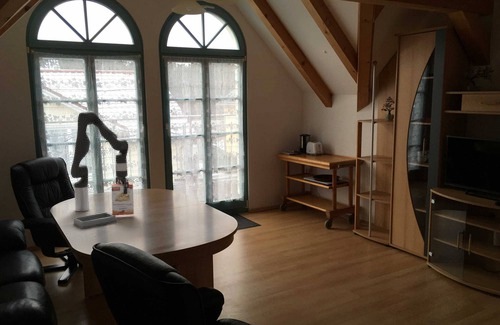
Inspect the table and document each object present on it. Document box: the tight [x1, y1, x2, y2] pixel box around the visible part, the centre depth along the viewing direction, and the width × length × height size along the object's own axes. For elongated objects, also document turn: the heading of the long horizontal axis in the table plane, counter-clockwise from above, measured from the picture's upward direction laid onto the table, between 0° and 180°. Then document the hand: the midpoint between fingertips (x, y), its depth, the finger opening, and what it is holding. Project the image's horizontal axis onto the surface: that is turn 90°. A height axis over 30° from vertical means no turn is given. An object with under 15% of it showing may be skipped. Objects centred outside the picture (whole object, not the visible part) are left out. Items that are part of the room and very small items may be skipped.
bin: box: [72, 212, 117, 230], centre depth 270 cm, size 14×22×4 cm, turn 134°
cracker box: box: [111, 182, 135, 216], centre depth 282 cm, size 14×6×21 cm, turn 106°
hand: (122, 193), depth 281 cm, fingers closed on cracker box, 8 cm apart
